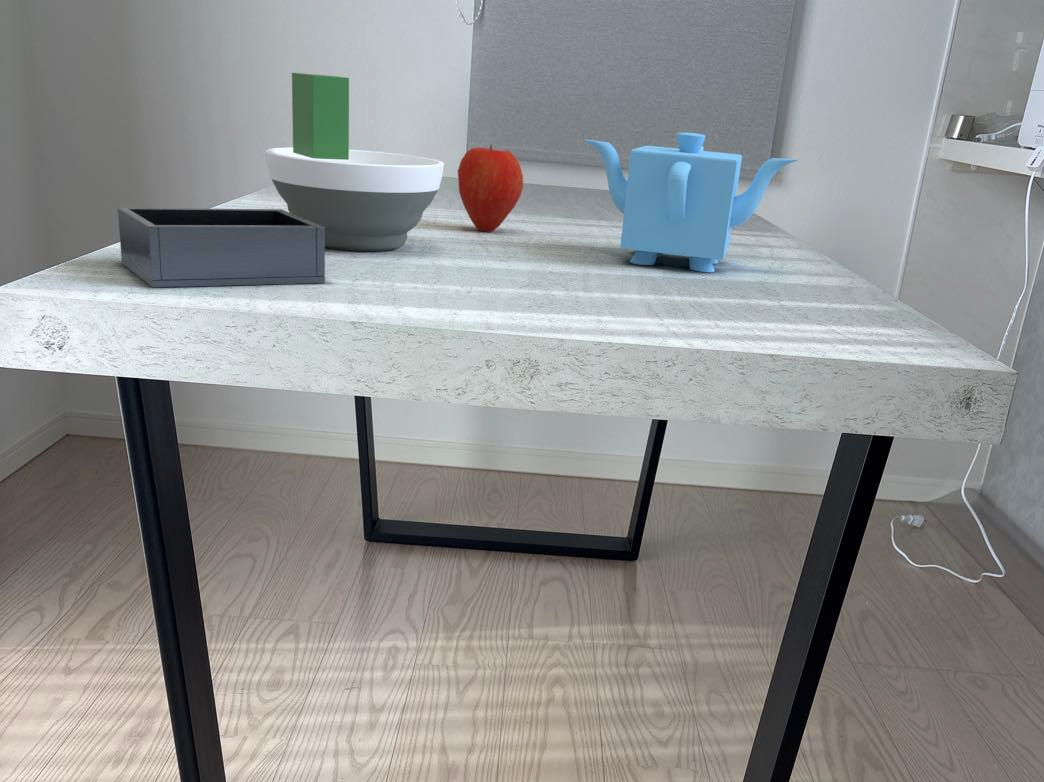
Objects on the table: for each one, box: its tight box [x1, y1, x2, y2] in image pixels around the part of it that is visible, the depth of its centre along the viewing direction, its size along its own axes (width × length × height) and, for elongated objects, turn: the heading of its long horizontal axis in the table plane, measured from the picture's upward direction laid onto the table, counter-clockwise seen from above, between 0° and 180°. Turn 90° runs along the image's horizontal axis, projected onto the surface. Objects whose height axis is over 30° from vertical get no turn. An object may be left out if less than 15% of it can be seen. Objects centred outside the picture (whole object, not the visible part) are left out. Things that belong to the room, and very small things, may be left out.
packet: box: [291, 72, 350, 160], centre depth 112 cm, size 6×4×8 cm, turn 32°
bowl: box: [265, 146, 445, 252], centre depth 119 cm, size 20×20×10 cm
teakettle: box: [584, 132, 798, 273], centre depth 126 cm, size 19×19×15 cm
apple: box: [457, 144, 524, 233], centre depth 138 cm, size 9×8×11 cm
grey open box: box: [117, 206, 326, 289], centre depth 98 cm, size 16×12×5 cm
